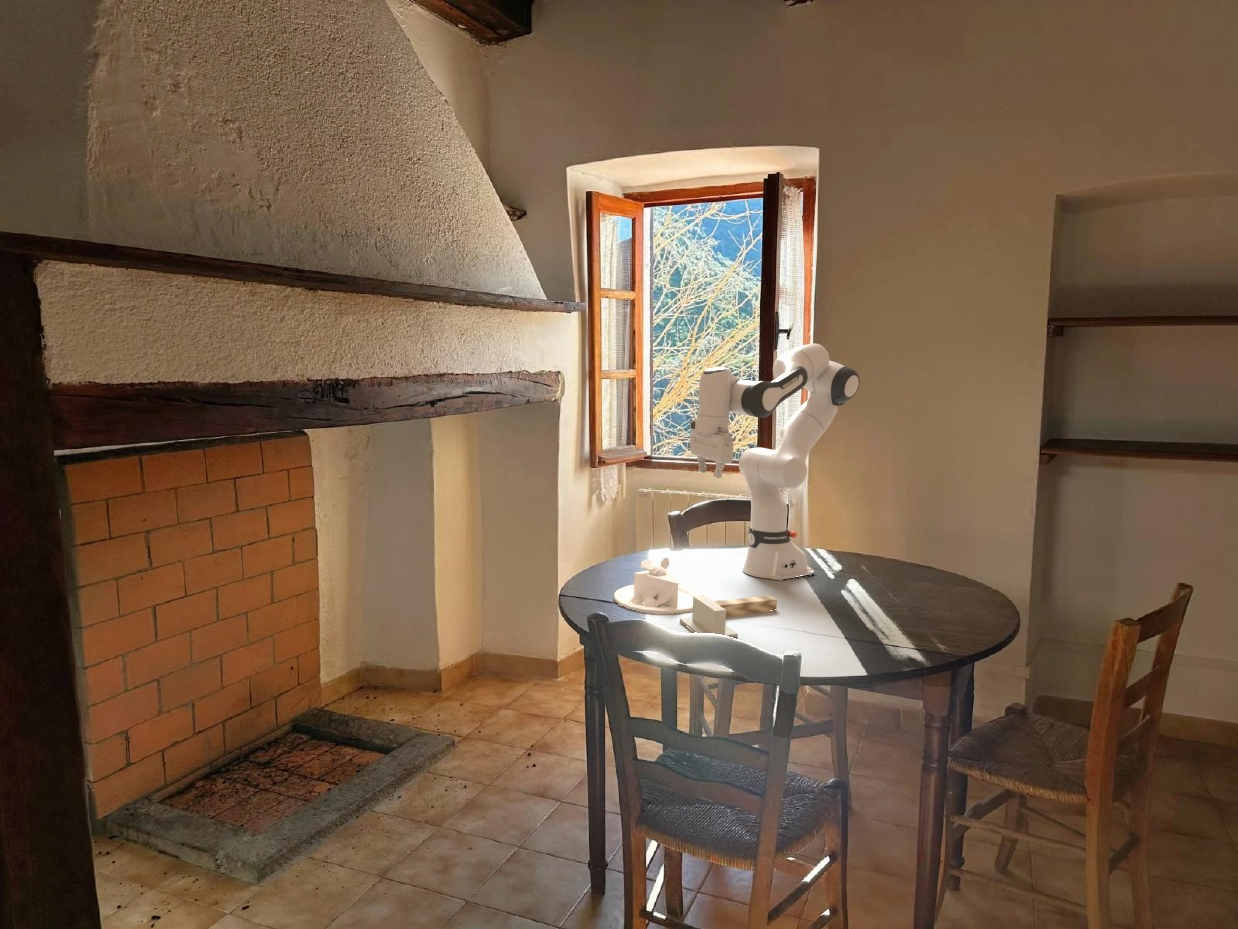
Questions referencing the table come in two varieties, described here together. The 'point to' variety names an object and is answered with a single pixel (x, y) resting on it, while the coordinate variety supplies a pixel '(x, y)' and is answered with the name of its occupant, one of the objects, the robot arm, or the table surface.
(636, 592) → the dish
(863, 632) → the table surface
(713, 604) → the ridge block
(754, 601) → the beech bar
